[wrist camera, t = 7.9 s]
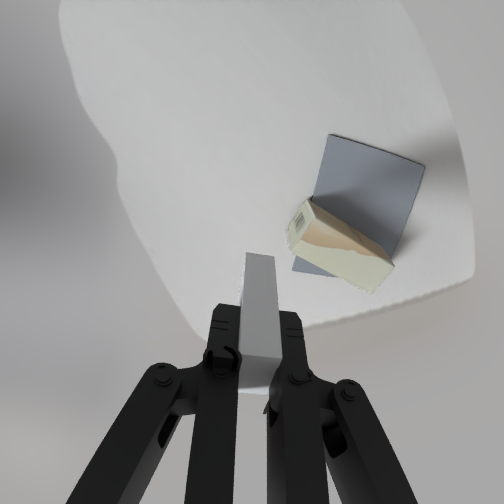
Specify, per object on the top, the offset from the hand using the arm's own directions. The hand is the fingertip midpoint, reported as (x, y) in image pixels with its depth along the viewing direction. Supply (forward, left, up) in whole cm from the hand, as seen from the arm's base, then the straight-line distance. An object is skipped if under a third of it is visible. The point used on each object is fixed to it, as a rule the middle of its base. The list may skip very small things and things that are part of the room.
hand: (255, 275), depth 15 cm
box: (+2, +4, -12) cm, 13 cm away
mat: (+1, +12, -15) cm, 19 cm away
